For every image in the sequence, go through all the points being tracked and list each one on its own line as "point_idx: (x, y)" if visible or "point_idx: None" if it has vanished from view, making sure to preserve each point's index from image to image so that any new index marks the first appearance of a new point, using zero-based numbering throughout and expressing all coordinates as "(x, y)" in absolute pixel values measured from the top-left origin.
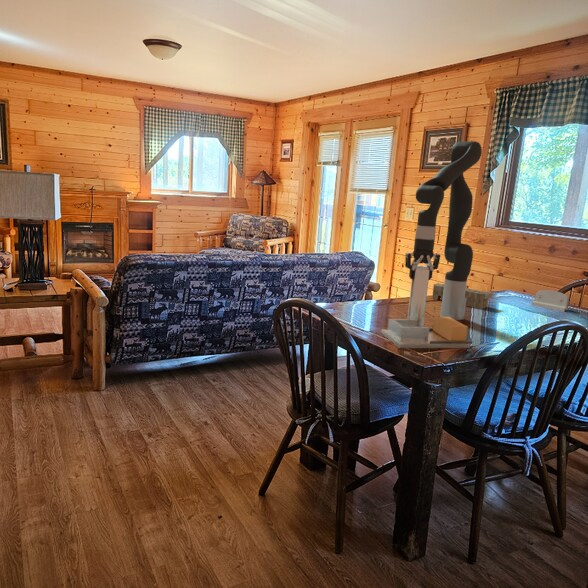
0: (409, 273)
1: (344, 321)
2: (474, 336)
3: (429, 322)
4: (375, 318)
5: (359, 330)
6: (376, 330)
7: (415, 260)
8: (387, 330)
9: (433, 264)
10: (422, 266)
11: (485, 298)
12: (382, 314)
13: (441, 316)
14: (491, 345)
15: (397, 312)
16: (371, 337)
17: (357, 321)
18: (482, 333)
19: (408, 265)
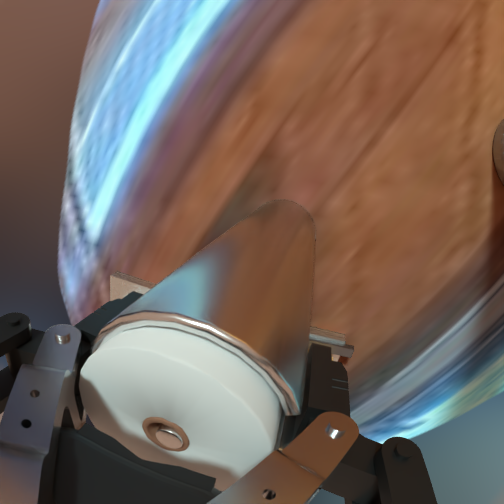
0: (92, 313)
1: (72, 125)
2: (411, 376)
3: (399, 186)
4: (188, 85)
5: (74, 229)
6: (116, 240)
7: (38, 419)
8: (123, 291)
9: (381, 492)
10: (174, 448)
11: None
12: (256, 29)
13: (495, 140)
14: (377, 437)
15: (349, 12)
16: (84, 296)
17: (105, 125)
18: (464, 355)
19: (10, 381)
